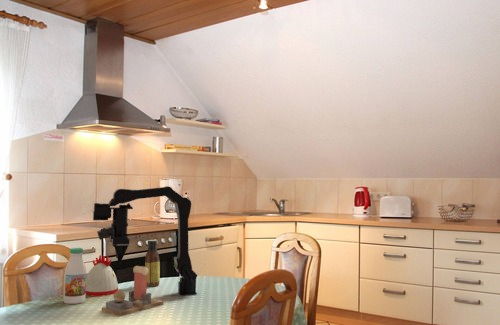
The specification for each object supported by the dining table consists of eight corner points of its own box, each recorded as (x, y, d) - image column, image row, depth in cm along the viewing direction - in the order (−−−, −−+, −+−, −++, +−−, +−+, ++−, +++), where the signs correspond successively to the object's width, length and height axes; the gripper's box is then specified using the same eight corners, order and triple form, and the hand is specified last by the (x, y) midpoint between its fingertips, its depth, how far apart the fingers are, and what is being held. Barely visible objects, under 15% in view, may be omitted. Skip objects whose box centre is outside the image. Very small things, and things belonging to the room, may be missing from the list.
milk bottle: (58, 302, 174) (61, 248, 174) (75, 298, 180) (77, 246, 181) (73, 305, 170) (75, 250, 171) (89, 301, 177) (91, 248, 178)
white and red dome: (107, 297, 184) (108, 259, 184) (75, 294, 186) (77, 256, 187) (123, 289, 197) (125, 253, 198) (94, 287, 200) (95, 252, 201)
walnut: (120, 299, 167) (120, 288, 167) (127, 301, 165) (127, 290, 165) (110, 302, 164) (111, 290, 164) (118, 304, 161) (118, 292, 162)
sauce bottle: (161, 284, 209) (162, 239, 209) (157, 287, 202) (158, 241, 203) (147, 283, 209) (148, 239, 210) (142, 286, 203) (144, 240, 204)
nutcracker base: (144, 300, 180) (145, 287, 181) (162, 304, 175) (163, 291, 175) (101, 311, 164) (102, 296, 164) (120, 316, 158) (120, 301, 159)
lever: (137, 298, 175) (139, 265, 175) (147, 300, 172) (148, 267, 172) (132, 299, 172) (133, 266, 173) (141, 302, 169) (142, 268, 170)
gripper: (98, 218, 191) (96, 256, 190) (99, 222, 173) (97, 265, 172) (126, 218, 194) (124, 256, 194) (130, 222, 177) (128, 263, 176)
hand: (118, 260), depth 184 cm, fingers open, 9 cm apart
